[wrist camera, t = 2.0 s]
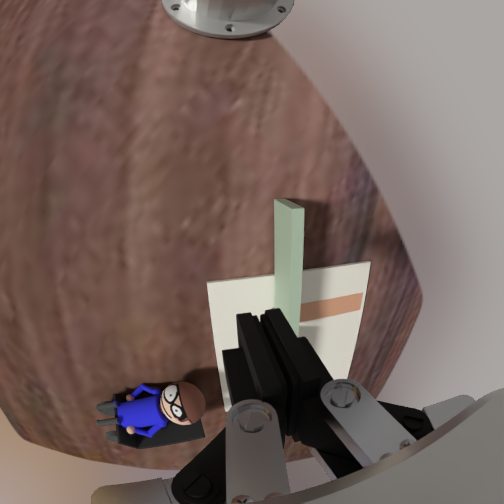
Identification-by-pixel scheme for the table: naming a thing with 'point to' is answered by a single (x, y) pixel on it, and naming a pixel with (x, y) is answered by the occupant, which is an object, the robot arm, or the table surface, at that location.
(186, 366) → the table surface
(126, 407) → the character figurine
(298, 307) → the hinged fence panel
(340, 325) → the card
